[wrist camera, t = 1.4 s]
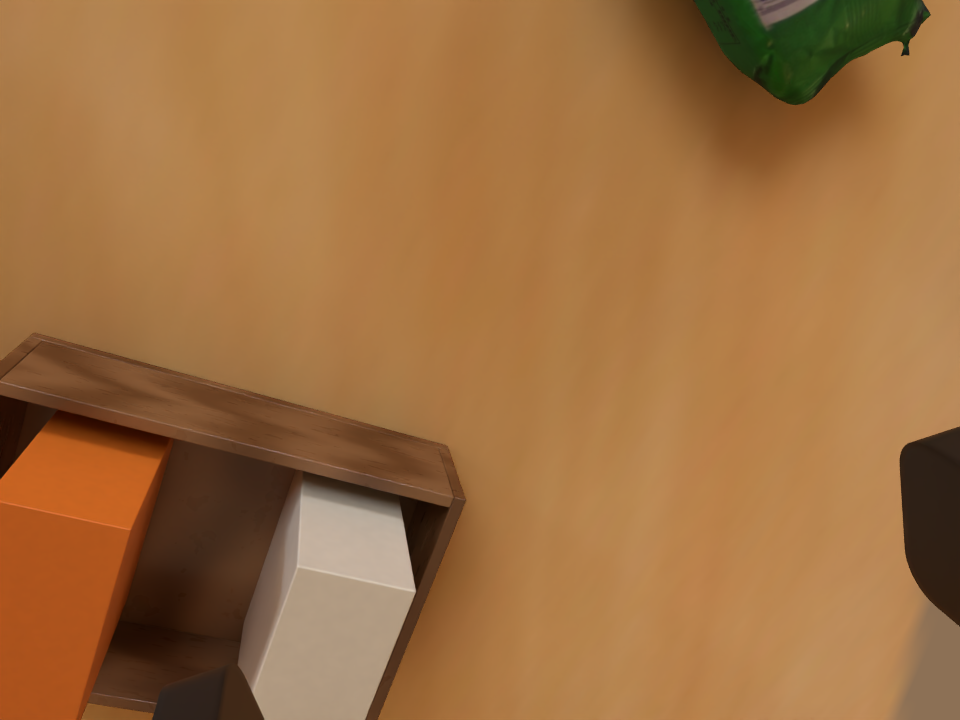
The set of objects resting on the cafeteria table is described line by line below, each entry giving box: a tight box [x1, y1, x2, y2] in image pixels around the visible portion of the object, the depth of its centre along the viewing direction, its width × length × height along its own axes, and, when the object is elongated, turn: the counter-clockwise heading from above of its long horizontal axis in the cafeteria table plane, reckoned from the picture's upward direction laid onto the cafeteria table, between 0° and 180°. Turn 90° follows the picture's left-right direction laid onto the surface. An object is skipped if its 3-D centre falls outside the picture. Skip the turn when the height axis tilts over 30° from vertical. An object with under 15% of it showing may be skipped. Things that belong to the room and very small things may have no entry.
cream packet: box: [238, 469, 416, 720], centre depth 31 cm, size 4×9×9 cm, turn 159°
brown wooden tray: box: [0, 333, 466, 720], centre depth 32 cm, size 17×12×5 cm
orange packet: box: [0, 410, 174, 720], centre depth 28 cm, size 4×9×9 cm, turn 159°
